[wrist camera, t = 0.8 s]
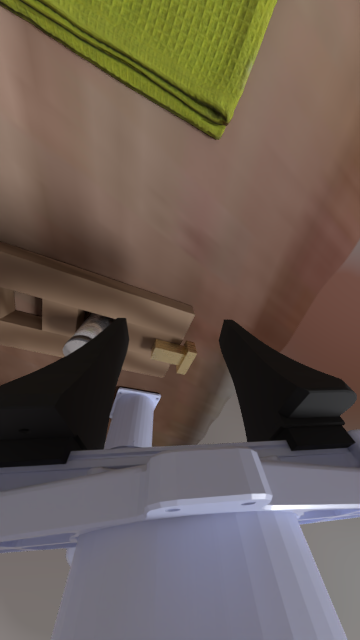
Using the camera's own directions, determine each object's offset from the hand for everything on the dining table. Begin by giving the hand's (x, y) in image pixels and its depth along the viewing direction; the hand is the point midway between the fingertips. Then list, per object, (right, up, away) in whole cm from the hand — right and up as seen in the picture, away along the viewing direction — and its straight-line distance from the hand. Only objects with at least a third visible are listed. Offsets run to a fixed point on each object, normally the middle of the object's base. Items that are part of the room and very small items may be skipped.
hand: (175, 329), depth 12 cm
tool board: (-11, +1, +10) cm, 15 cm away
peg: (-10, +1, +10) cm, 15 cm away
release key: (-1, -3, +10) cm, 11 cm away
